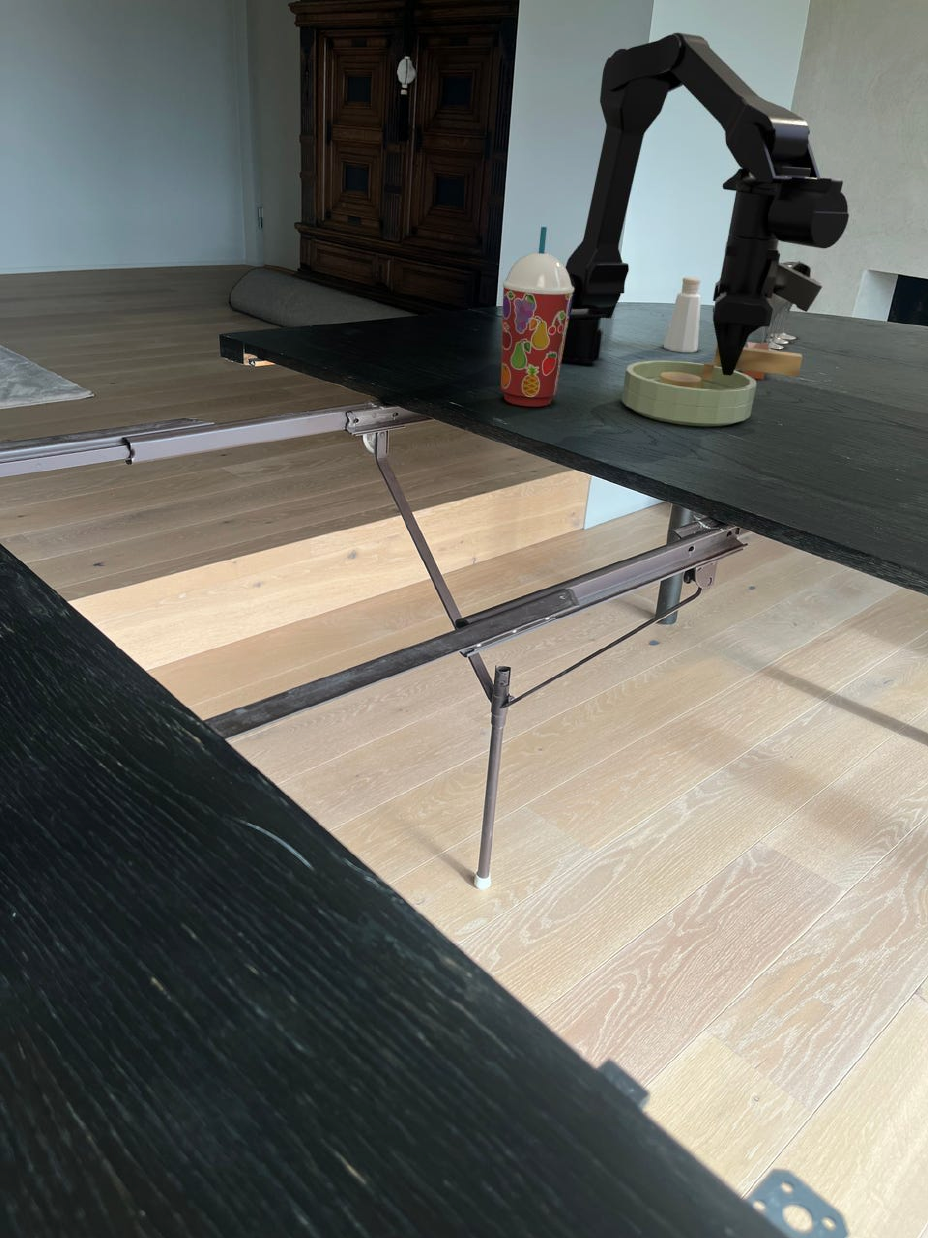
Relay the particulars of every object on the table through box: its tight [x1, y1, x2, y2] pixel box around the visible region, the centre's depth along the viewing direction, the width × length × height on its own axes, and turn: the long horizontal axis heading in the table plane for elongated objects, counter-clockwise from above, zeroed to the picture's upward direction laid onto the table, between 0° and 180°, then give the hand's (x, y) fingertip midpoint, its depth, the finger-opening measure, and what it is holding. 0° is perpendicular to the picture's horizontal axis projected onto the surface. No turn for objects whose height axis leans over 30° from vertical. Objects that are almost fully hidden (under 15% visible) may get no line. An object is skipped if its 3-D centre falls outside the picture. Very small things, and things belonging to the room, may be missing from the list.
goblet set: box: [761, 261, 813, 351], centre depth 160 cm, size 28×6×13 cm, turn 154°
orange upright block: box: [741, 341, 770, 381], centre depth 140 cm, size 3×5×4 cm, turn 167°
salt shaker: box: [663, 276, 702, 353], centre depth 152 cm, size 5×5×11 cm
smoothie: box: [500, 226, 574, 408], centre depth 113 cm, size 8×8×20 cm
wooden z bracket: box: [659, 343, 803, 389], centre depth 117 cm, size 16×5×7 cm, turn 77°
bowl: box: [621, 360, 757, 427], centre depth 118 cm, size 16×16×4 cm
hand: (727, 373), depth 117 cm, fingers closed on wooden z bracket
